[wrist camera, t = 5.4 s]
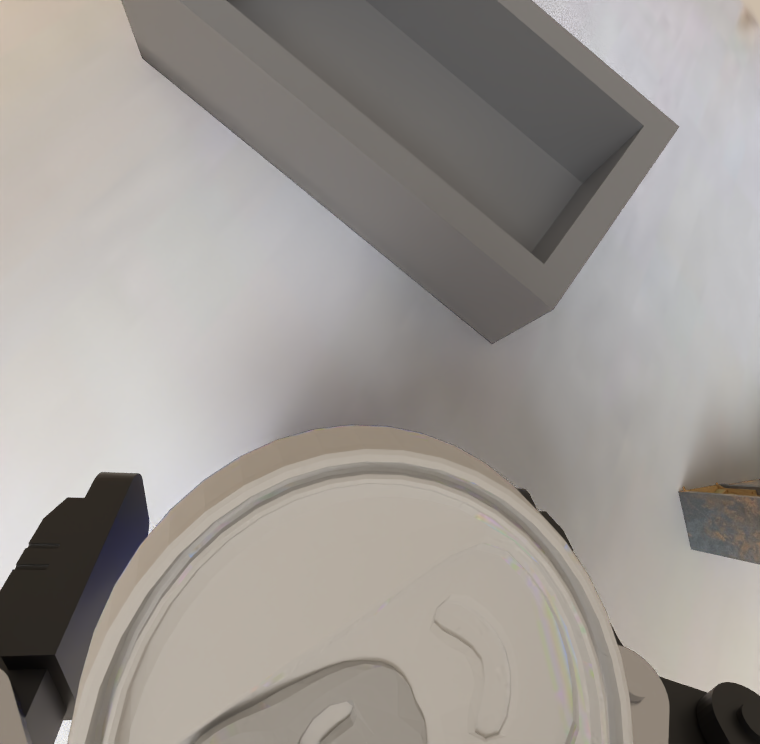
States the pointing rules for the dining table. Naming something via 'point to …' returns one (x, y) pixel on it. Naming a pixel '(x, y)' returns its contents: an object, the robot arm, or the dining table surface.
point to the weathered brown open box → (724, 519)
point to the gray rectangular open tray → (426, 131)
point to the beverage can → (353, 609)
